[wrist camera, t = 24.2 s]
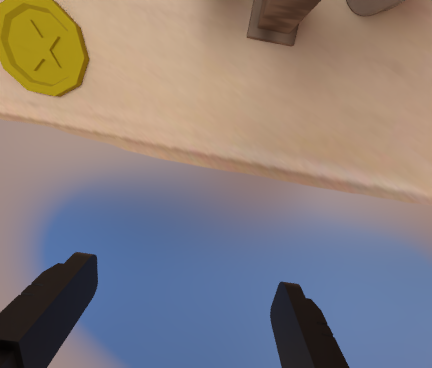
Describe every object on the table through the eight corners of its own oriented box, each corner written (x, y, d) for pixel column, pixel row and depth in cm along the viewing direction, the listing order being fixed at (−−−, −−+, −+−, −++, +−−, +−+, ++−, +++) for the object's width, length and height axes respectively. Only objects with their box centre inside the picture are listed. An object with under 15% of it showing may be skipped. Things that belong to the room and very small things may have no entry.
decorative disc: (-18, 26, 42) (-29, 22, 40) (54, -21, 40) (45, -28, 38) (39, 108, 47) (31, 108, 46) (105, 72, 45) (100, 70, 43)
